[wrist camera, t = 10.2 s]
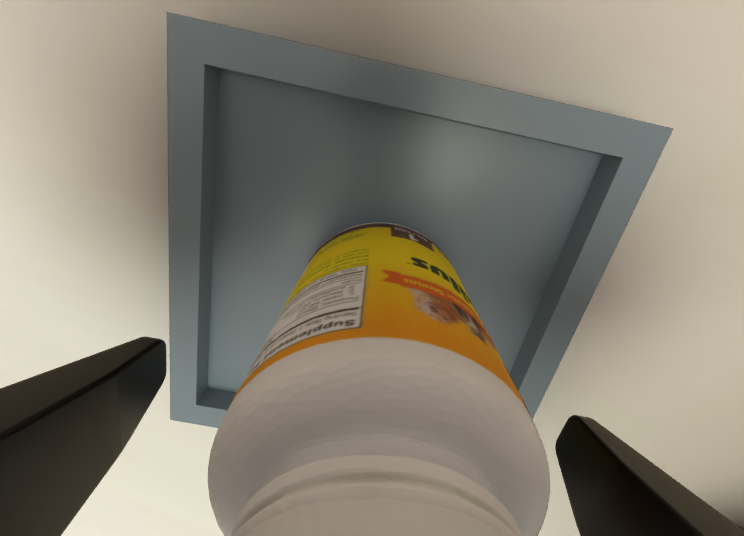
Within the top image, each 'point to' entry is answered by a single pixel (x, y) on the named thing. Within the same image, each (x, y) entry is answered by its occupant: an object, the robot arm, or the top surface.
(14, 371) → the top surface
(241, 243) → the tray
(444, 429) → the supplement bottle
